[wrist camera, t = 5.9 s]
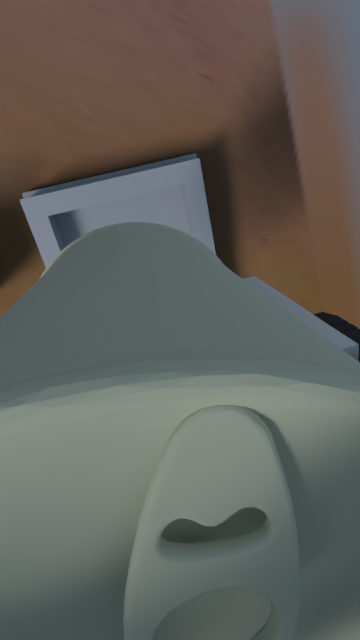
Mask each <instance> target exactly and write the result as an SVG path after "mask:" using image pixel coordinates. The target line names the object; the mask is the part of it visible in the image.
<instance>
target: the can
mask: <svg viewBox="0 0 360 640" xmlns="http://www.w3.org/2000/svg"><path fill="white" fill-rule="evenodd" d="M0 640H360V362H359V361H357V360H356V359H355V358H353V357H352V356H350V355H349V354H347V353H346V352H345V351H343V350H342V349H340V348H339V347H337V346H336V345H334V344H333V343H332V342H330V341H329V340H327V339H326V338H324V337H323V336H322V335H320V334H319V333H317V332H316V331H314V330H313V329H312V328H310V327H309V326H307V325H306V324H304V323H303V322H302V321H300V320H299V319H297V318H296V317H294V316H293V315H292V314H290V313H289V312H287V311H286V310H285V309H283V308H282V307H281V306H279V305H278V304H276V303H275V302H274V301H272V300H271V299H269V298H268V297H267V296H265V295H264V294H263V293H261V292H260V291H258V290H257V289H256V288H254V287H253V286H252V285H250V284H249V283H247V282H246V281H245V280H243V279H242V278H241V277H239V276H238V275H236V274H235V273H234V272H232V271H231V270H230V269H229V268H227V267H226V266H225V265H224V264H223V263H222V261H221V260H220V259H219V258H218V257H217V256H216V255H215V254H214V253H213V252H212V251H211V250H210V249H209V248H208V247H207V246H206V245H204V244H203V243H202V242H200V241H199V240H197V239H196V238H194V237H192V236H191V235H189V234H187V233H185V232H183V231H180V230H177V229H175V228H172V227H168V226H165V225H161V224H156V223H148V222H126V223H119V224H113V225H108V226H105V227H102V228H99V229H96V230H94V231H91V232H89V233H87V234H85V235H83V236H81V237H80V238H78V239H76V240H74V241H73V242H72V243H70V244H69V245H68V246H66V247H65V248H64V249H63V250H62V251H61V252H59V253H58V254H57V256H56V257H55V258H54V259H53V260H52V261H51V262H50V264H49V265H48V266H47V268H46V269H45V271H44V272H43V274H42V275H41V277H40V279H39V280H38V281H37V282H36V283H35V284H34V285H33V286H32V287H31V288H30V289H29V290H28V291H27V292H26V293H25V294H24V295H22V296H21V297H20V298H19V299H18V300H17V301H16V302H15V303H14V304H13V305H12V306H11V307H10V308H9V309H8V310H7V311H6V312H5V313H4V314H3V315H2V316H1V317H0Z"/></svg>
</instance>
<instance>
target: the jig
mask: <svg viewBox="0 0 360 640" xmlns="http://www.w3.org/2000/svg"><path fill="white" fill-rule="evenodd" d="M22 195H23V198H24V199H21V200H20V203H21V205H22V208H23V210H24V213H25V215H26V218H27V221H28V223H29V226H30V228H31V231H32V233H33V236H34V239H35V241H36V244H37V246H38V249H39V251H40V254H41V256H42V259H43V262H44V264H45V267H46V268H47V266H48V265H49V264H50V262H51V261H52V260H53V259H54V258H55V257H56V256H57V254H58V253H59V252H61V251H62V250H63V249H64V248H65V247H66V246H68V245H69V244H70V243H72V242H73V241H74V240H76V239H78V238H80V237H81V236H83V235H85V234H87V233H89V232H91V231H94V230H96V229H99V228H102V227H105V226H108V225H113V224H119V223H126V222H148V223H156V224H161V225H165V226H168V227H172V228H175V229H177V230H180V231H183V232H185V233H187V234H189V235H191V236H192V237H194V238H196V239H197V240H199V241H200V242H202V243H203V244H204V245H206V246H207V247H208V248H209V249H210V250H211V251H212V252H213V253H214V254H215V255H216V252H215V246H214V240H213V234H212V229H211V223H210V217H209V211H208V205H207V199H206V193H205V188H204V182H203V176H202V170H201V164H200V158H198V159H197V155H196V153H194V154H190V155H186V156H181V157H177V158H173V159H168V160H164V161H160V162H155V163H151V164H146V165H142V166H138V167H133V168H129V169H125V170H120V171H116V172H112V173H107V174H103V175H99V176H94V177H90V178H86V179H81V180H77V181H73V182H68V183H64V184H60V185H55V186H51V187H47V188H42V189H38V190H34V191H29V192H25V193H22Z"/></svg>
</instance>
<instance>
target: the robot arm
mask: <svg viewBox="0 0 360 640" xmlns="http://www.w3.org/2000/svg"><path fill="white" fill-rule="evenodd" d="M243 280H245V281H246V282H247V283H249V284H250V285H252V286H253V287H254V288H256V289H257V290H258V291H260V292H261V293H263V294H264V295H265V296H267V297H268V298H269V299H271V300H272V301H274V302H275V303H276V304H278V305H279V306H281V307H282V308H283V309H285V310H286V311H287V312H289V313H290V314H292V315H293V316H294V317H296V318H297V319H299V320H300V321H302V322H303V323H304V324H306V325H307V326H309V327H310V328H312V329H313V330H314V331H316V332H317V333H319V334H320V335H322V336H323V337H324V338H326V339H327V340H329V341H330V342H332V343H333V344H334V345H336V346H337V347H339V348H340V349H342V350H343V351H345V352H346V353H347V354H349V355H350V356H352V357H353V358H355V359H356V360H357V361H359V362H360V329H358V328H357V327H356V326H354V325H352V324H349V323H348V322H347V321H345V320H344V319H342V318H340V317H339V316H336V315H332V314H328V313H324V312H321V313H317V314H312V313H310V312H309V311H307V310H305V309H304V308H302V307H301V306H299V305H298V304H296V303H295V302H293V301H292V300H290V299H289V298H287V297H286V296H284V295H283V294H281V293H280V292H278V291H277V290H275V289H274V288H272V287H270V286H269V285H267V284H266V283H264V282H263V281H261V280H260V279H258V278H257V277H255V276H253V277H249V278H245V279H243Z"/></svg>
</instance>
